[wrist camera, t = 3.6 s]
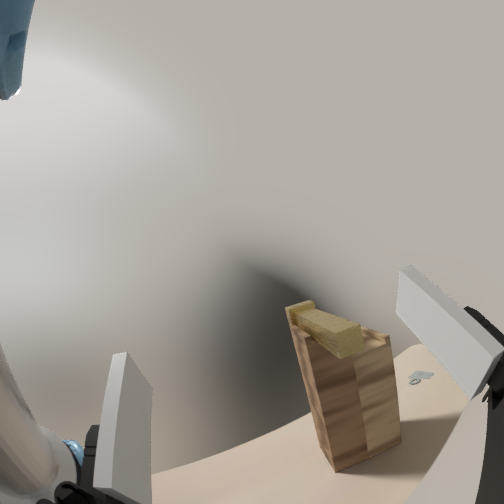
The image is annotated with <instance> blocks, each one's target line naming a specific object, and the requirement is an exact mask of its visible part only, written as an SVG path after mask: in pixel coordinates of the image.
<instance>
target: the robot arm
mask: <svg viewBox="0 0 504 504" xmlns="http://www.w3.org/2000/svg"><path fill="white" fill-rule="evenodd" d="M34 2H35V0H0V99H2V100H7V99H9V98H10V97H12V96H14V95H16V94H17V93H19V91H20V89H21V80H22V69H23V60H24V52H25V45H26V39H27V34H28V28H29V23H30V19H31V13H32V10H33V5H34ZM396 314H397V315H398V316H399V317H400V319H402V321H403V322H404V323H405V324H406V325H407V326H408V327H409V328H410V330H411V331H412V332H413V333H414V334H415V335H416V336H417V337H418V339H419V340H420V341H421V342H422V343H423V344H424V345H425V347H426V348H427V349H428V350H429V351H430V352H431V354H432V355H433V356H434V357H435V358H436V359H437V361H438V362H439V363H440V364H441V365H442V366H443V368H444V369H445V370H446V371H447V372H448V374H449V375H450V376H451V377H452V378H453V380H454V381H455V382H456V383H457V385H458V386H459V387H460V388H461V390H462V391H463V392H464V393H465V395H466V396H467V397H468V398H469V400H472V399H473V398H474V397H475V396H477V395H478V394H479V393H481V392H482V390H483V389H484V387H485V385H486V384H488V385H489V386H490V387H489V389H488V391H487V392H486V394H485V395H484V397H483V400H482V402H484V401H485V400H486V398H487V397H488V401H487V402H488V418H487V433H486V445H485V453H484V460H483V467H482V473H481V479H480V484H479V489H478V494H477V498H476V502H475V504H504V335H503V334H502V333H501V332H500V331H499V330H498V329H497V328H496V327H495V326H494V325H492V324H491V323H490V322H489V321H488V320H487V319H485V317H484V316H483V315H481V313H479V312H478V311H477V310H475V309H473V308H470V307H468V306H467V307H465V308H464V309H463V308H462V307H461V306H459V305H458V304H457V303H456V302H455V301H454V300H453V299H451V298H450V297H449V296H448V295H447V294H446V293H444V292H443V291H442V290H441V289H440V288H439V287H437V286H436V285H435V284H434V283H433V282H431V281H430V280H429V279H428V278H426V277H425V276H424V275H423V274H422V273H420V272H419V271H418V270H416V269H415V268H414V267H413V266H412V265H411V266H408V267H406V268H404V269H401V270H399V284H398V295H397V305H396ZM152 390H153V389H152V387H151V385H150V384H149V383H148V381H147V380H146V378H145V377H144V376H143V374H142V373H141V371H140V370H139V368H138V367H137V365H136V364H135V363H134V361H133V360H132V358H131V357H130V355H129V354H128V352H123V353H118V354H114V355H113V358H112V362H111V367H110V371H109V376H108V381H107V386H106V391H105V397H104V402H103V408H102V414H101V420H100V425H92V426H91V428H90V430H89V431H88V433H87V435H86V441H85V448H84V450H83V449H82V447H81V446H80V444H78V442H76V441H74V440H61V439H60V438H59V437H58V436H57V435H56V434H54V433H53V432H52V431H50V430H48V429H47V428H45V427H42V426H40V425H38V423H37V422H36V420H35V418H34V416H33V414H32V413H31V411H30V409H29V407H28V405H27V403H26V401H25V400H24V397H23V395H22V393H21V391H20V389H19V387H18V385H17V383H16V381H15V379H14V376H13V374H12V372H11V370H10V368H9V365H8V363H7V360H6V358H5V355H4V353H3V350H2V347H1V345H0V504H152V489H151V412H152Z"/></svg>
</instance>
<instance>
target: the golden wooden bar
mask: <svg viewBox="0 0 504 504" xmlns="http://www.w3.org/2000/svg"><path fill="white" fill-rule="evenodd" d="M285 310H286V314H287V318H288V321H289V325H290V327H291V326H294V325H296V326H297V327H299V328H300V329H301V330H303V331H304V332H306V333H307V334H309V335H310V336H311V339H312V340H314V341H315V342H317V343H318V344H320V345H321V346H322V347H324V348H325V349H327V350H328V351H330V352H331V353H332V354H334V355H335V356H337V357H338V358H340V359H342V358H345V357H347V356H350V355H353V354H355V353H357V352H360V351H362V350H365V346H364V341H363V336H362V331H361V326H360V324H358V323H355V322H352V321H350V320H346V319H344V318H341V317H337V316H334V315H332V314H329V313H326V312H323V311H320V310H317V309H315V305H314V302H313V301H310V300H308V301H305V302H302V303H298V304H295V305H292V306H289V307H285Z"/></svg>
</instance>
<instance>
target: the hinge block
mask: <svg viewBox="0 0 504 504" xmlns="http://www.w3.org/2000/svg"><path fill="white" fill-rule="evenodd" d="M290 329H291V333H292V337H293V341H294V345H295V348H296V352H297V356H298V360H299V364H300V368H301V372H302V376H303V380H304V384H305V388H306V392H307V396H308V400H309V403H310V407H311V412H312V416H313V420H314V424H315V428H316V432H317V436H318V440H319V445H320V448H321V449H322V451H323V453H324V454H325V456H326V458H327V459H328V461H329V463H330V464H331V466H332V468H333V469H334V471H335V472H338V471H341V470H343V469H346V468H348V467H350V466H353V465H355V464H357V463H360V462H362V461H364V460H366V459H368V458H371V457H373V456H375V455H377V454H379V453H381V452H383V451H385V450H387V449H389V448H391V447H393V446H395V445H397V444H398V443H400V442H401V431H400V417H399V405H398V395H397V386H396V378H395V370H394V363H393V356H392V350H391V344H390V337H389V335H386V334H383V333H380V332H377V331H374V330H371V329H368V328H365V327H361V331H362V336H363V341H364V346H365V350H362V351H360V352H357V353H355V354H353V355H350V356H347V357H345V358H342V359H340V358H338V357H337V356H335V355H334V354H332V353H331V352H330V351H328V350H327V349H325V348H324V347H322V346H321V345H320V344H318V343H317V342H315V341H314V340H312V339H311V336H310V335H309V334H307V333H306V332H304V331H303V330H301V329H300V328H299V327H297V326H296V325H294V326H291V327H290Z"/></svg>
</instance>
